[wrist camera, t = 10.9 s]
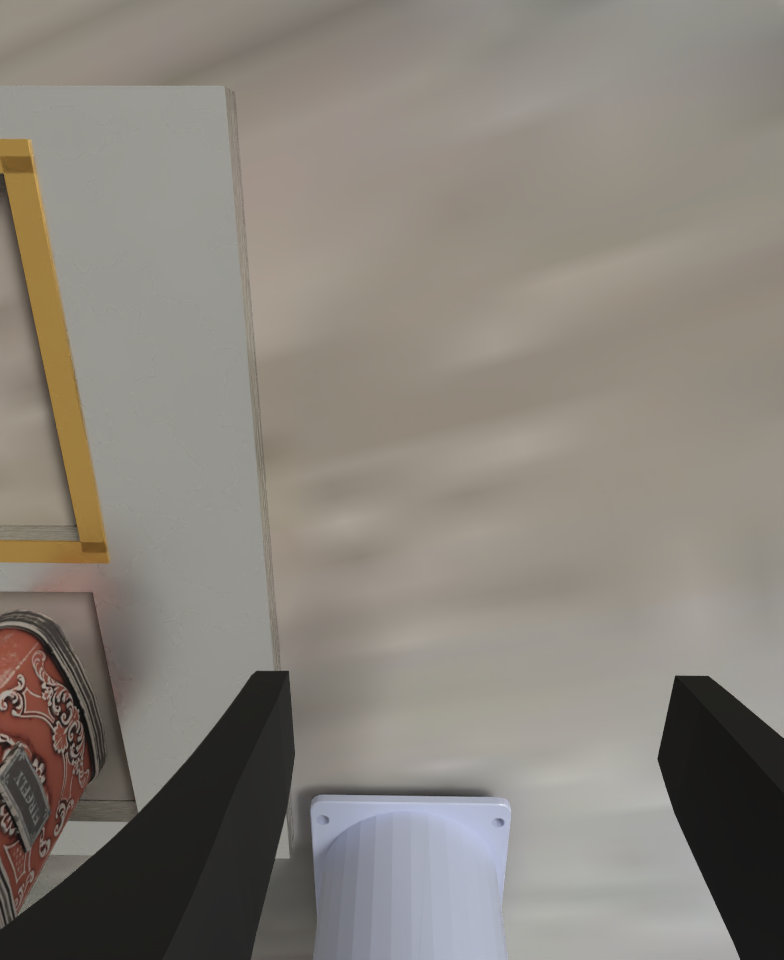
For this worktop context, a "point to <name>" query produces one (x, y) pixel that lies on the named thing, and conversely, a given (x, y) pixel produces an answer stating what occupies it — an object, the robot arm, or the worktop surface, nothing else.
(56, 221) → the rail plate
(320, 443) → the worktop surface
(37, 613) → the lighter
